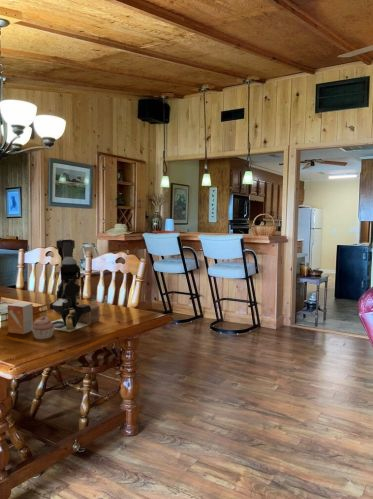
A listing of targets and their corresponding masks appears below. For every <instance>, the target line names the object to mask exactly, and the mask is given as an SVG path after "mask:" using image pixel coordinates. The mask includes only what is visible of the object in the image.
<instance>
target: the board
mask: <svg viewBox="0 0 373 499" xmlns="http://www.w3.org/2000/svg"><path fill="white" fill-rule="evenodd" d="M73 312H74V310H70V312H69V314H71V313H73ZM51 322H52V325H53V326H54V327H55V328H54V330H58V331H62V332H67V333H68V332H69V333H71V332H73V331H75V330H79V329H80V328H84V327H87V326H88V325H91V324H93V323H96V322H98V321H96V322H93V323H91V324H87V323H81V322H78V323H77V325H76V327H75V329H72V330H67V329H66V326H65V324H64V321H63V319H62V318H59V319H56V320H53V321H51Z"/></svg>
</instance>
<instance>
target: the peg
mask: <svg viewBox="0 0 373 499" xmlns="http://www.w3.org/2000/svg"><path fill="white" fill-rule="evenodd" d="M66 329H67V330H72V329H75V327H73V316H72V315H71V314H67V315H66Z"/></svg>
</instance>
